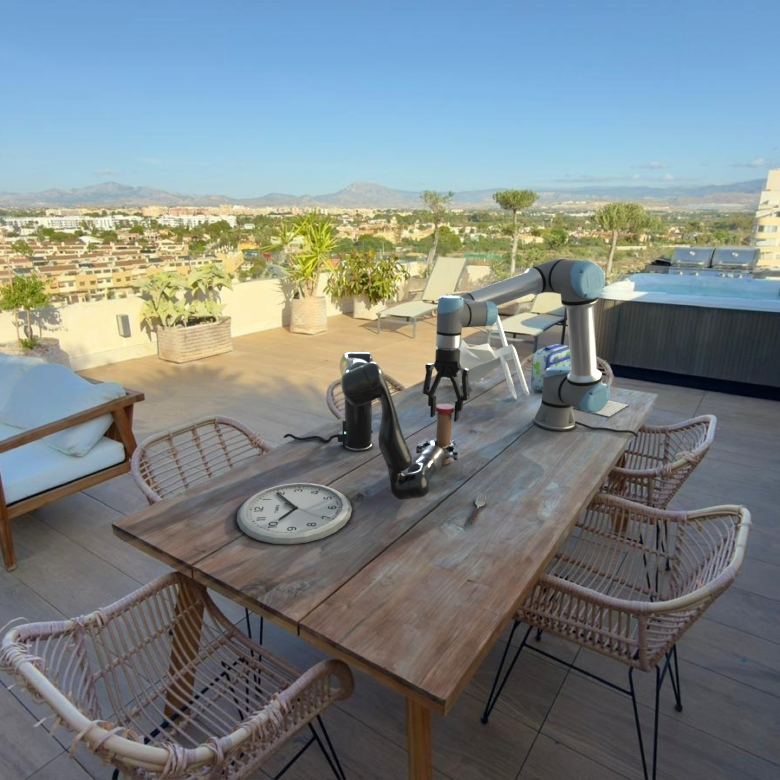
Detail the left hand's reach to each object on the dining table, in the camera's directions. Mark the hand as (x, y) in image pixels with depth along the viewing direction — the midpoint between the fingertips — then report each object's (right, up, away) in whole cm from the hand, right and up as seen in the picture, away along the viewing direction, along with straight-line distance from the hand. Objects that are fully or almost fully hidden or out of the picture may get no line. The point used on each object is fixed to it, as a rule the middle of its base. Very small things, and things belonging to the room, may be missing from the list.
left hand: (445, 441), depth 171 cm
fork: (+5, -16, -31) cm, 35 cm away
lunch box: (+59, +17, +80) cm, 101 cm away
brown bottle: (-1, -7, -1) cm, 7 cm away
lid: (-1, +11, -6) cm, 13 cm away
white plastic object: (+23, +16, +72) cm, 77 cm away
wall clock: (-43, -16, -32) cm, 56 cm away
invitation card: (+73, +9, +55) cm, 92 cm away
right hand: (-1, +8, -5) cm, 9 cm away
